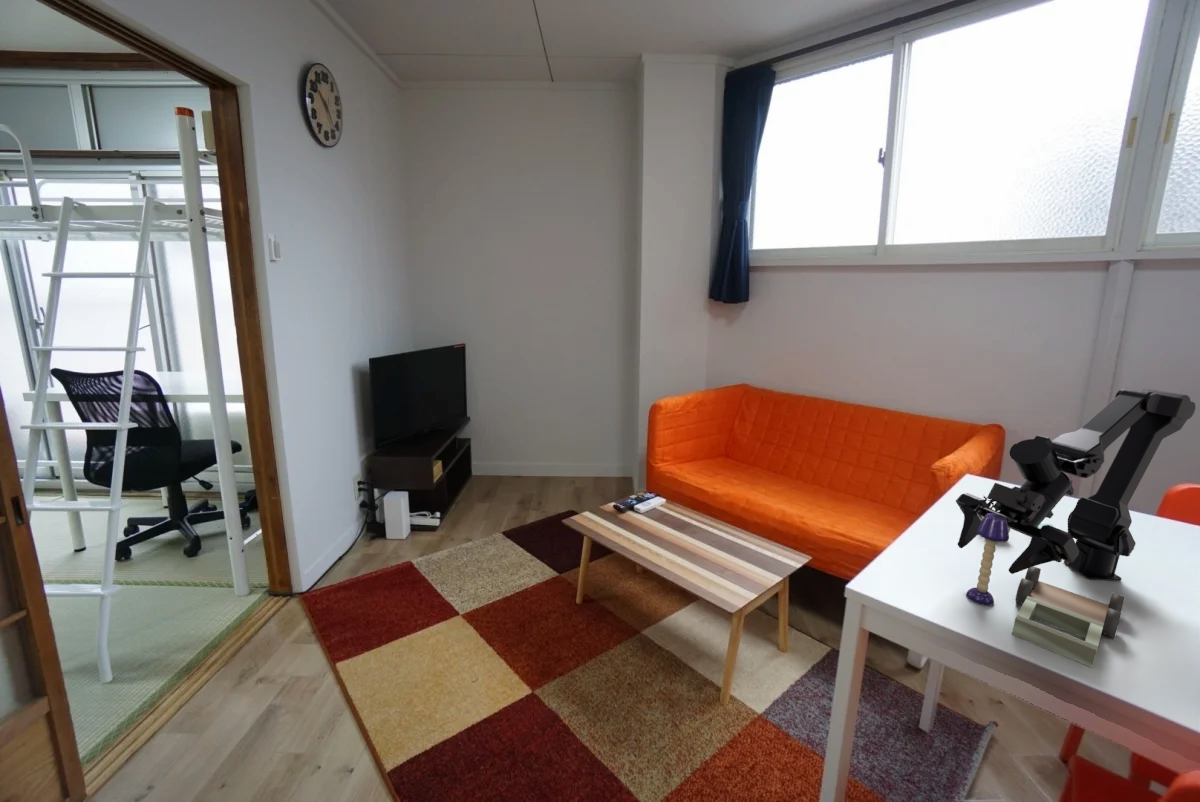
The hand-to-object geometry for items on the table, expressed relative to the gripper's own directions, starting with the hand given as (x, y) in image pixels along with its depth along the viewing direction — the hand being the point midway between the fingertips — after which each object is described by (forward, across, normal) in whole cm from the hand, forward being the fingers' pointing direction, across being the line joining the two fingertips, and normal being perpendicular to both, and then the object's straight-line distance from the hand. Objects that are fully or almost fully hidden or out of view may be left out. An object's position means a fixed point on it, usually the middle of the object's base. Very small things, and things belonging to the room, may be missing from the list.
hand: (983, 558), depth 94 cm
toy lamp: (+5, 0, +7) cm, 9 cm away
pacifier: (-24, -16, +36) cm, 46 cm away
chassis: (0, +9, +12) cm, 15 cm away
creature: (-23, -27, +35) cm, 50 cm away
